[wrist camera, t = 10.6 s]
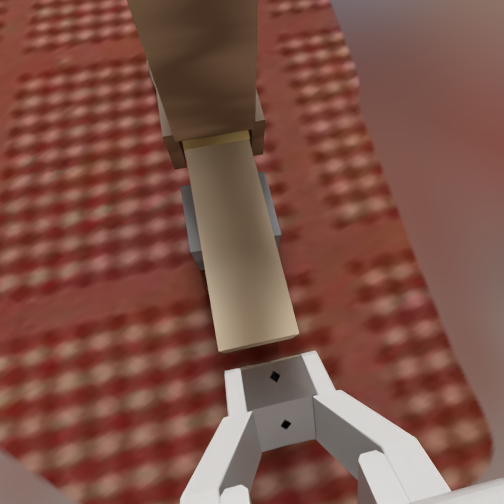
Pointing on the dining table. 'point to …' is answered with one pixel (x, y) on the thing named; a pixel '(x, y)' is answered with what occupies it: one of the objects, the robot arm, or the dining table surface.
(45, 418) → the dining table surface
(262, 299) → the seesaw
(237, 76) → the plate
